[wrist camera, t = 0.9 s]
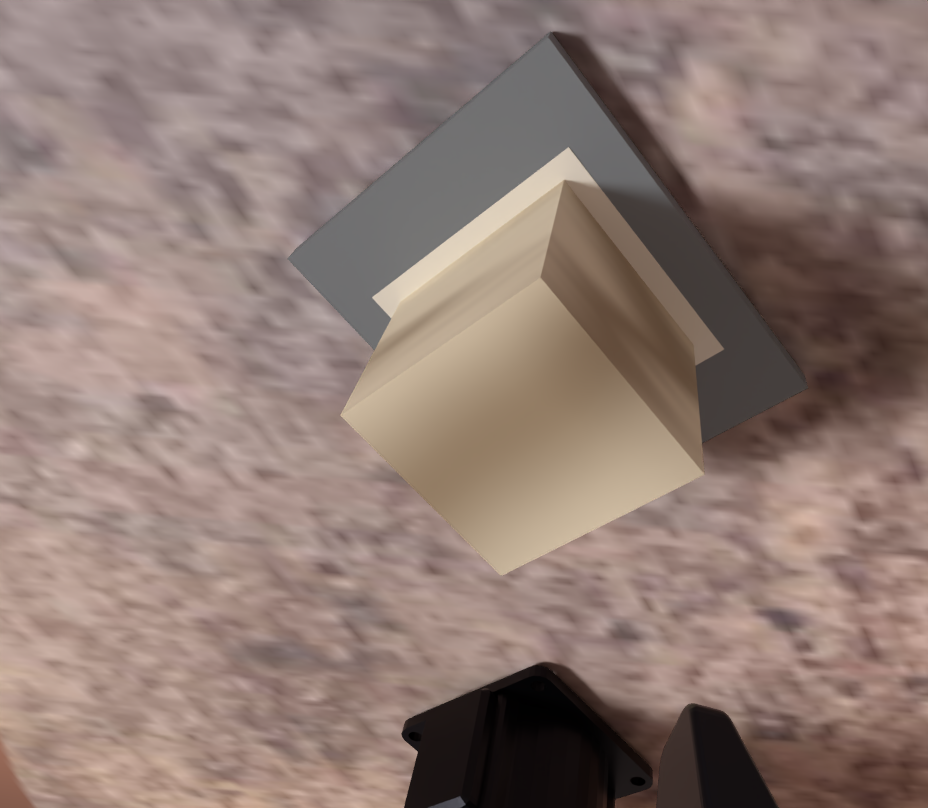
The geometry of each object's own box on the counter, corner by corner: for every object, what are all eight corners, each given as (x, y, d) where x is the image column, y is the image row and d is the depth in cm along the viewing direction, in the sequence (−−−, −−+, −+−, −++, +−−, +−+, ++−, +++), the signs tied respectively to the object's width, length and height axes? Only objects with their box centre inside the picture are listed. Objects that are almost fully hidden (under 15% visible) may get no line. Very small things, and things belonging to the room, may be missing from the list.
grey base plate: (804, 375, 21) (808, 388, 21) (543, 512, 25) (541, 526, 24) (550, 31, 18) (547, 37, 17) (295, 248, 22) (286, 259, 21)
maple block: (693, 344, 20) (704, 474, 16) (527, 441, 23) (501, 576, 19) (564, 179, 19) (540, 277, 15) (400, 301, 21) (340, 415, 17)
